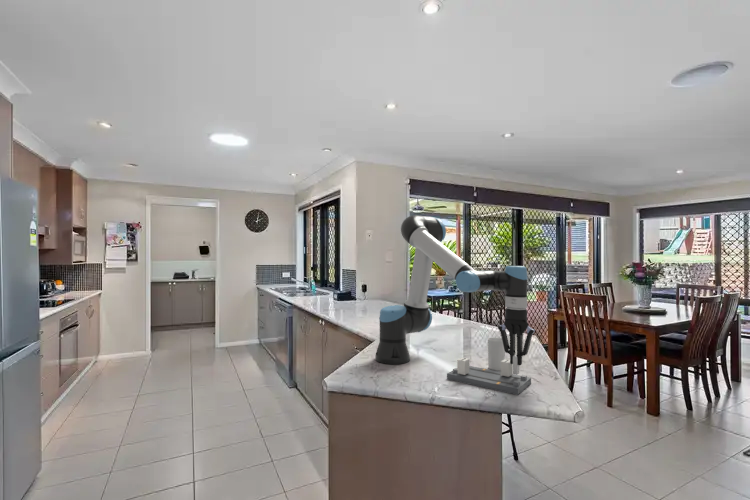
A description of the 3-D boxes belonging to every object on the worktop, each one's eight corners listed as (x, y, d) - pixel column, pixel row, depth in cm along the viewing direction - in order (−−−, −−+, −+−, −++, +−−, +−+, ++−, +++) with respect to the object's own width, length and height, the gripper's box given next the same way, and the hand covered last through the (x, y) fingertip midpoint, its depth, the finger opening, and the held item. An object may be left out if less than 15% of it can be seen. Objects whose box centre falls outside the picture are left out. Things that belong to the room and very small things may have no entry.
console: (446, 378, 140) (446, 370, 141) (464, 369, 152) (464, 361, 152) (517, 394, 124) (517, 385, 125) (531, 383, 136) (531, 374, 136)
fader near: (457, 373, 140) (457, 359, 140) (462, 370, 143) (462, 357, 143) (464, 374, 138) (464, 360, 138) (469, 372, 141) (469, 358, 141)
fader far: (500, 375, 138) (500, 361, 138) (504, 372, 141) (504, 358, 141) (508, 376, 136) (508, 362, 136) (512, 374, 139) (512, 360, 139)
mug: (505, 371, 150) (505, 341, 150) (487, 370, 152) (487, 340, 152) (504, 365, 160) (504, 336, 160) (488, 363, 162) (488, 335, 162)
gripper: (494, 307, 138) (494, 372, 137) (531, 311, 130) (531, 379, 129) (501, 305, 144) (501, 367, 143) (537, 308, 136) (537, 374, 135)
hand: (516, 373), depth 136 cm, fingers closed
